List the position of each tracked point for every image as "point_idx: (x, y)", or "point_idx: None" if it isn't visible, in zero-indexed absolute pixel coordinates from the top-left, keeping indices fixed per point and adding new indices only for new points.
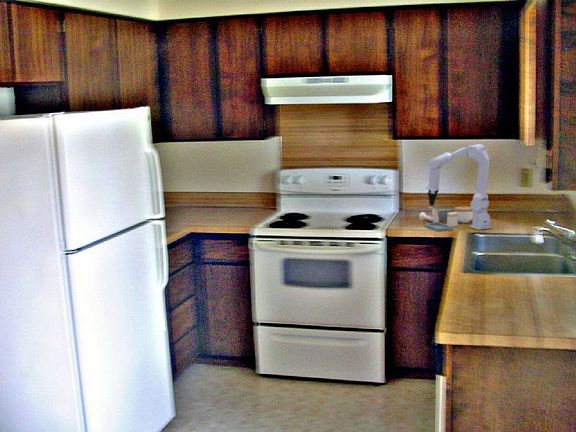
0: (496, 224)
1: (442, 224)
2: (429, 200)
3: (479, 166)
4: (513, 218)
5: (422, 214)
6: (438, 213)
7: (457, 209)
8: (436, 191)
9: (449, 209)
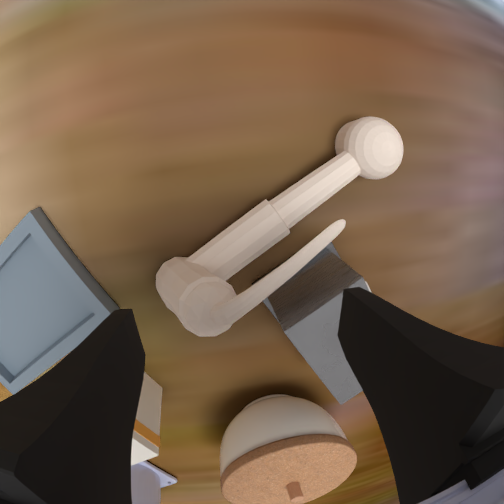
0: (220, 501)
1: (58, 343)
2: (68, 355)
3: None
4: (343, 499)
5: (357, 145)
6: (280, 316)
7: (234, 470)
8: (410, 490)
9: (360, 388)
